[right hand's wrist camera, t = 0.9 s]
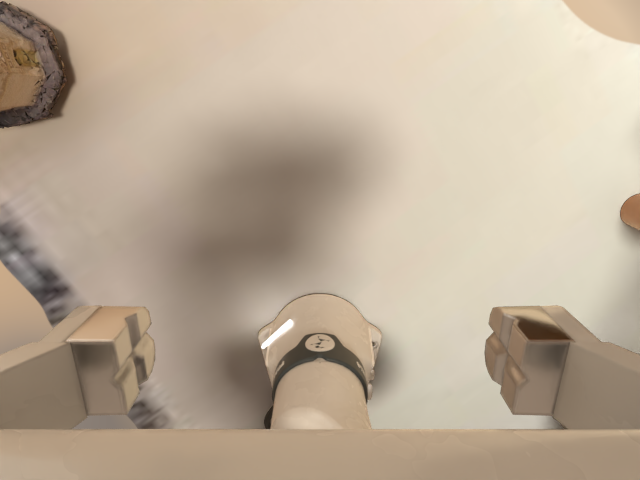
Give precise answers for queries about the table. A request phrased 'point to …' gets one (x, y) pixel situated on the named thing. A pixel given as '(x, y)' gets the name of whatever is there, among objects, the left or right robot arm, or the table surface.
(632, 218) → the tan tall cylinder
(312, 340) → the right robot arm
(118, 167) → the table surface
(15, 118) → the miniature building
